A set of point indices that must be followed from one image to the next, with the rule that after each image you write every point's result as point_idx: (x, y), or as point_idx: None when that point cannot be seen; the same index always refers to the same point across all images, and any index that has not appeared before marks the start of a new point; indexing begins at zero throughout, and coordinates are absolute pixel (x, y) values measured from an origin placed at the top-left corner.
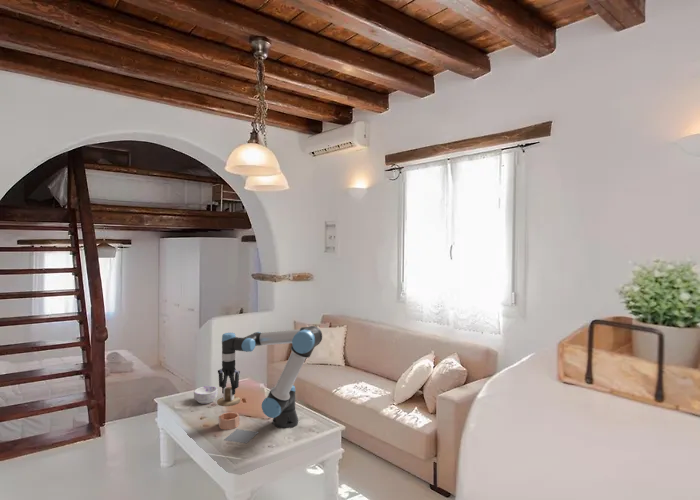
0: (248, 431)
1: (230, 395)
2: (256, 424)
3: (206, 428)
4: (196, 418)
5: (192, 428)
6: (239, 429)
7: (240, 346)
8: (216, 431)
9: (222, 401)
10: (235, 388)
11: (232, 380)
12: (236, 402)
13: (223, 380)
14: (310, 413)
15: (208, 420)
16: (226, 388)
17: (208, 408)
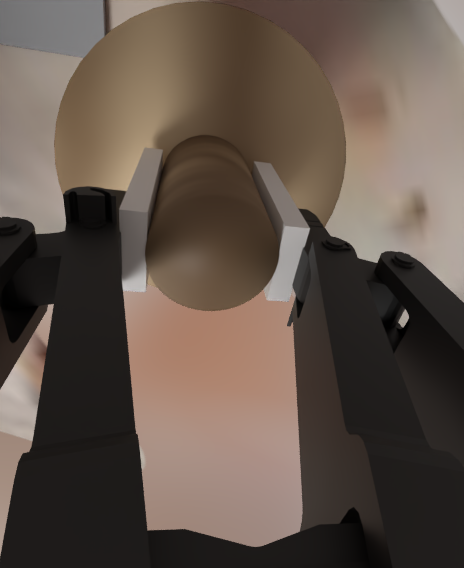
0: None
1: (163, 180)
2: (24, 180)
3: (350, 54)
4: (448, 201)
5: (454, 37)
6: (79, 53)
7: None
8: (255, 5)
9: (269, 127)
10: (6, 217)
11: (48, 370)
12: (61, 122)
13: (377, 349)
14: None
15: (368, 186)
16: (254, 249)
17: (403, 322)
